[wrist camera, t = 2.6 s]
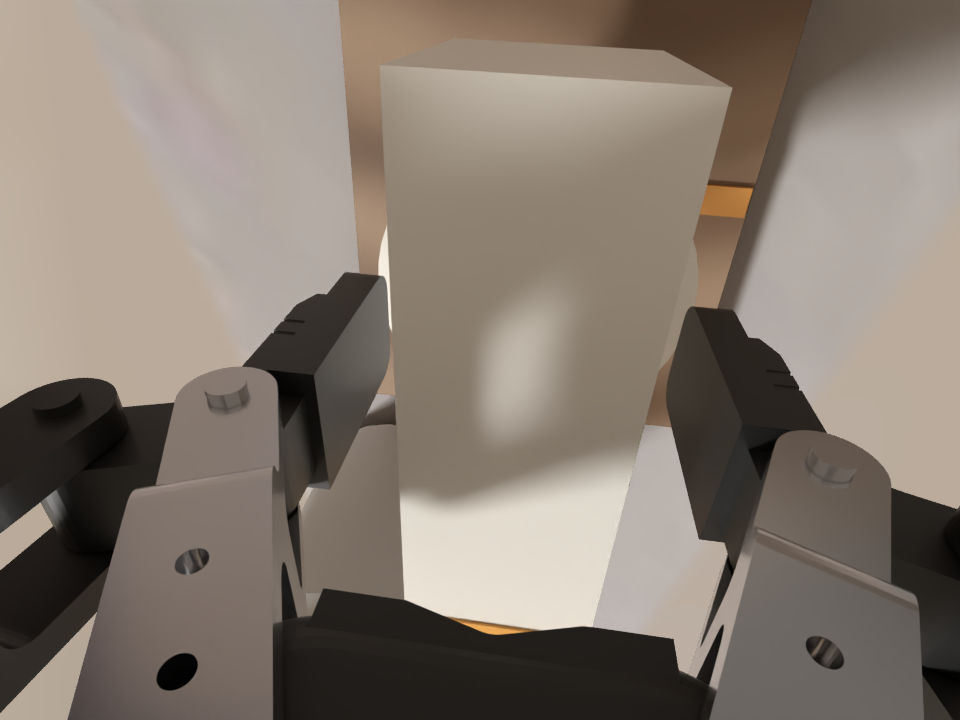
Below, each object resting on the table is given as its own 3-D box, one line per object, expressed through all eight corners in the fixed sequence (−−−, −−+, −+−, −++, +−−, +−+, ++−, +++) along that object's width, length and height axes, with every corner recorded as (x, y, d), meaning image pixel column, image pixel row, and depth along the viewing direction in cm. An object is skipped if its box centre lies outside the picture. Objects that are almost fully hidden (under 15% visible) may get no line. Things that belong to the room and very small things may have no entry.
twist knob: (398, 20, 12) (160, 51, 5) (730, 39, 12) (993, 105, 4) (409, 393, 18) (301, 662, 10) (636, 419, 17) (686, 723, 10)
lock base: (340, -198, 16) (200, -319, 10) (848, -185, 15) (1048, -315, 9) (378, 374, 27) (321, 487, 21) (675, 407, 26) (709, 537, 20)
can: (344, 395, 28) (222, 614, 18) (488, 438, 28) (446, 677, 18) (326, 494, 32) (218, 718, 22) (452, 531, 33) (401, 768, 23)
